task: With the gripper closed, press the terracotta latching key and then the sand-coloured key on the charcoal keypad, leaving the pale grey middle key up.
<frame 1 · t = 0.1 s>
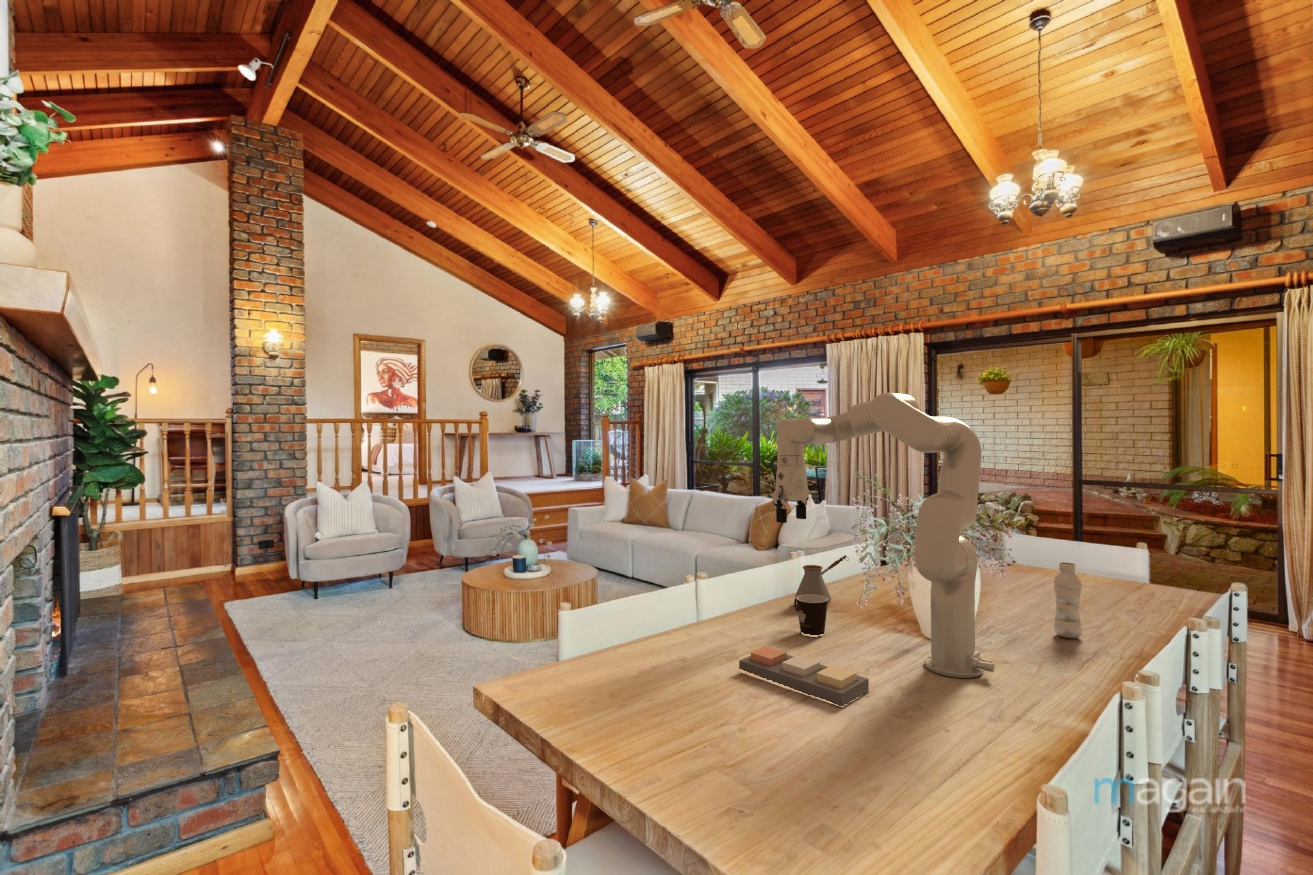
hand: (791, 520, 181), 31 cm above the table, tool pointing down, fingers open, 9 cm apart
key grey: (801, 666, 141), point 4 cm above the table, slide at 0.0 cm
coffee mug: (811, 633, 176), on the table
key terracotta: (768, 656, 148), point 4 cm above the table, slide at 0.0 cm
plastic bottle: (1067, 638, 169), on the table
keypad: (801, 682, 141), on the table
coffee pot: (824, 604, 205), on the table
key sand: (836, 677, 135), point 4 cm above the table, slide at 0.0 cm
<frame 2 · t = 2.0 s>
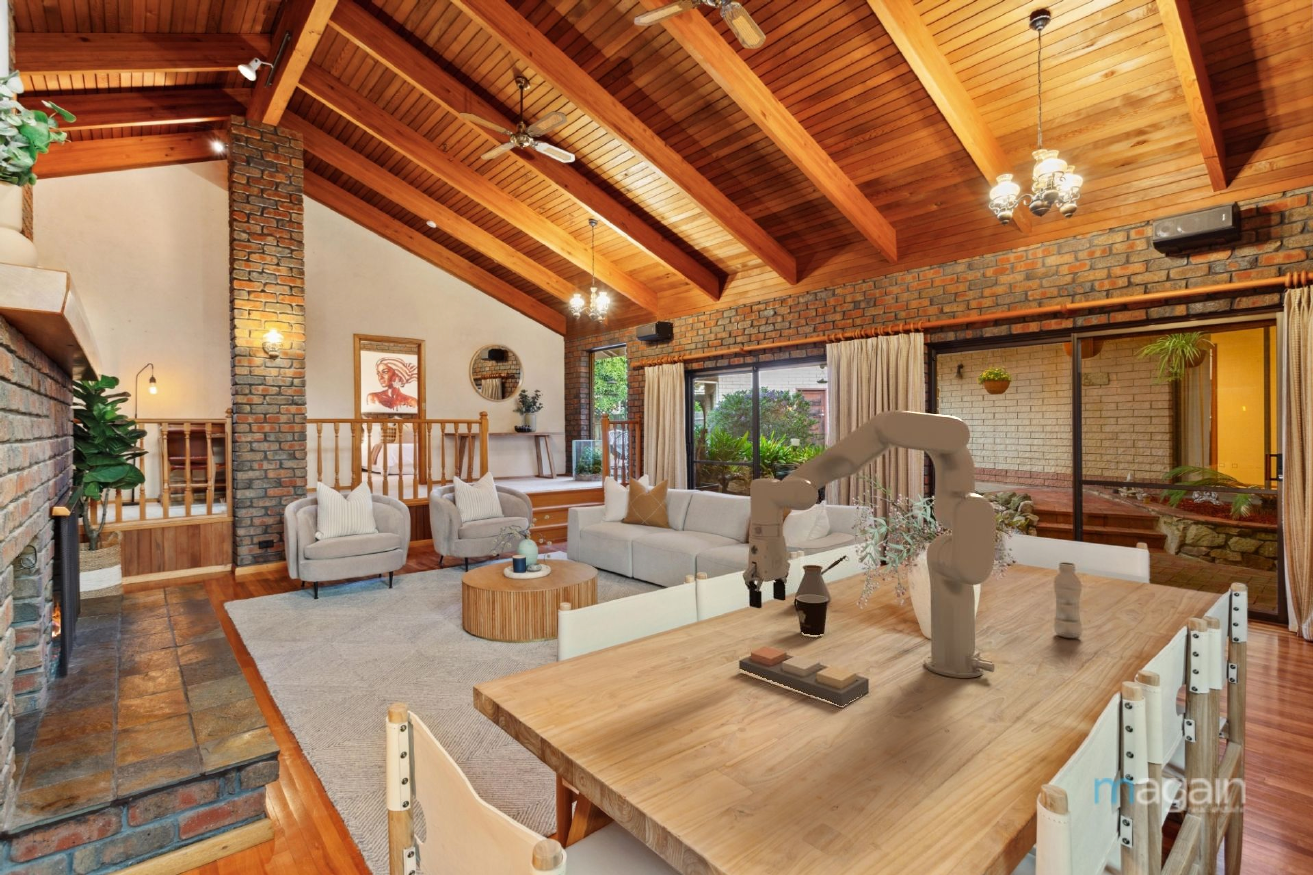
hand: (767, 603, 148), 16 cm above the table, tool pointing down, fingers open, 8 cm apart
nothing on the table moved.
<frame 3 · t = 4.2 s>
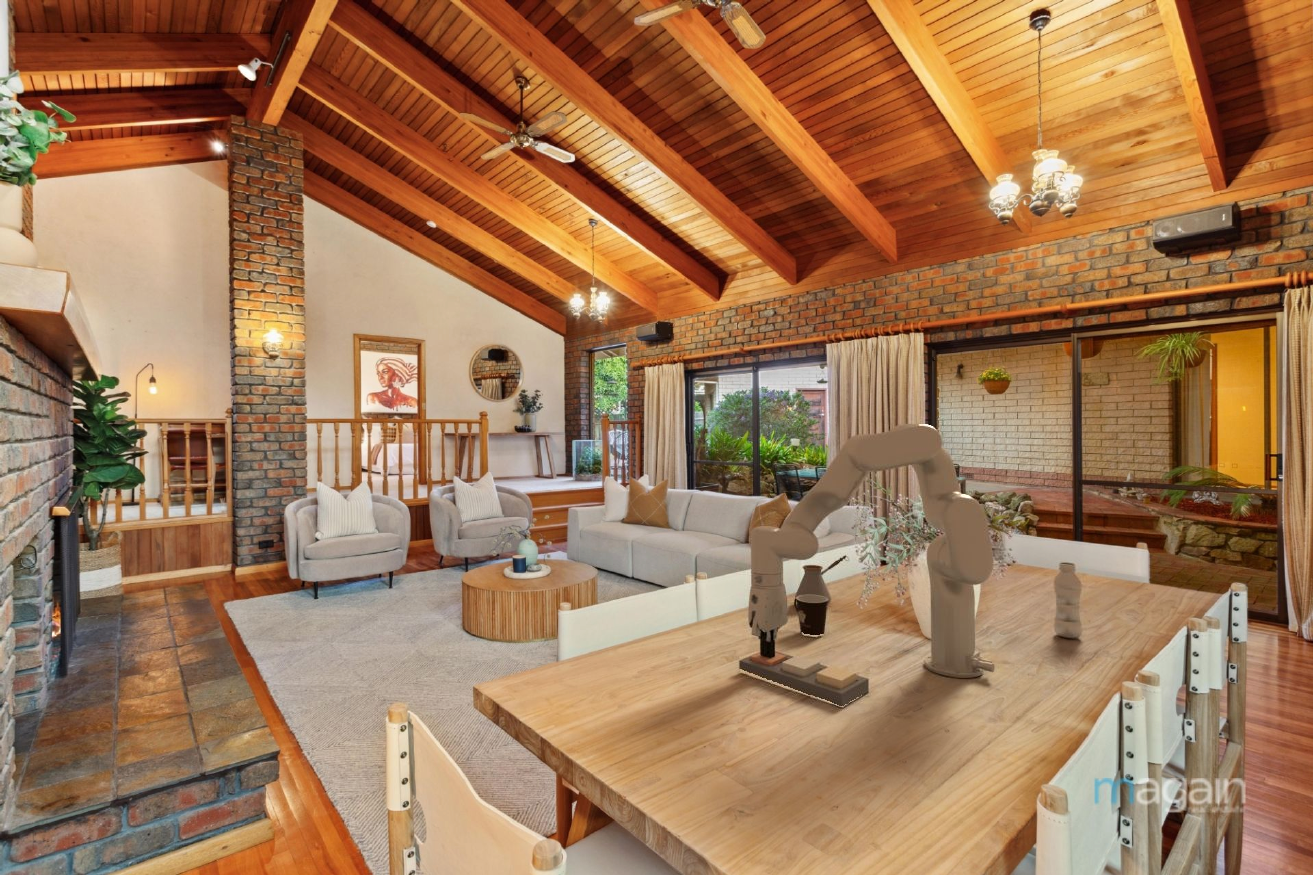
hand: (767, 656, 148), 4 cm above the table, tool pointing down, fingers closed
key terracotta: (768, 660, 148), point 3 cm above the table, slide at 0.9 cm, touching gripper
everything else where it was.
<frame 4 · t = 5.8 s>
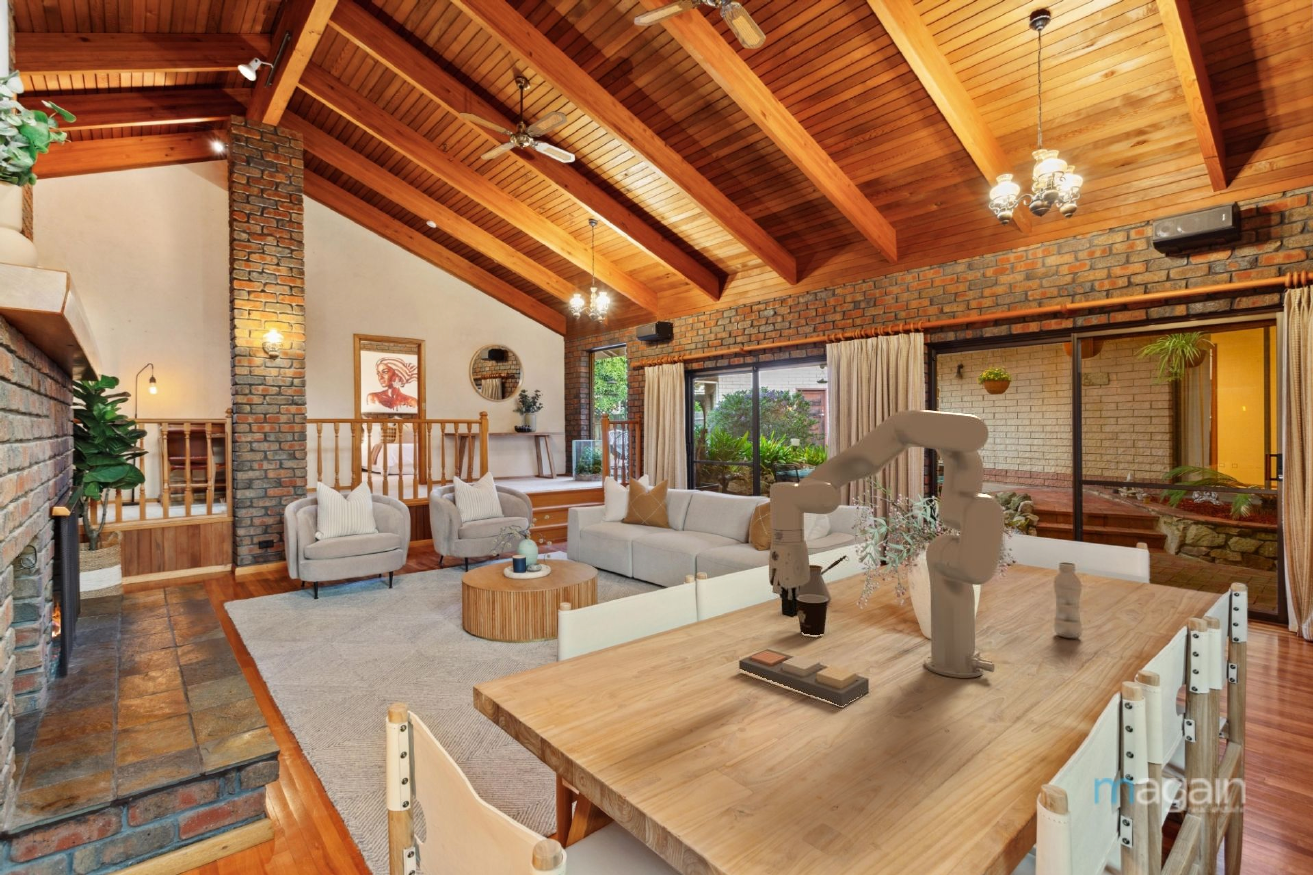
hand: (789, 615, 144), 15 cm above the table, tool pointing down, fingers closed
key terracotta: (768, 661, 148), point 3 cm above the table, slide at 1.0 cm
everything else where it was.
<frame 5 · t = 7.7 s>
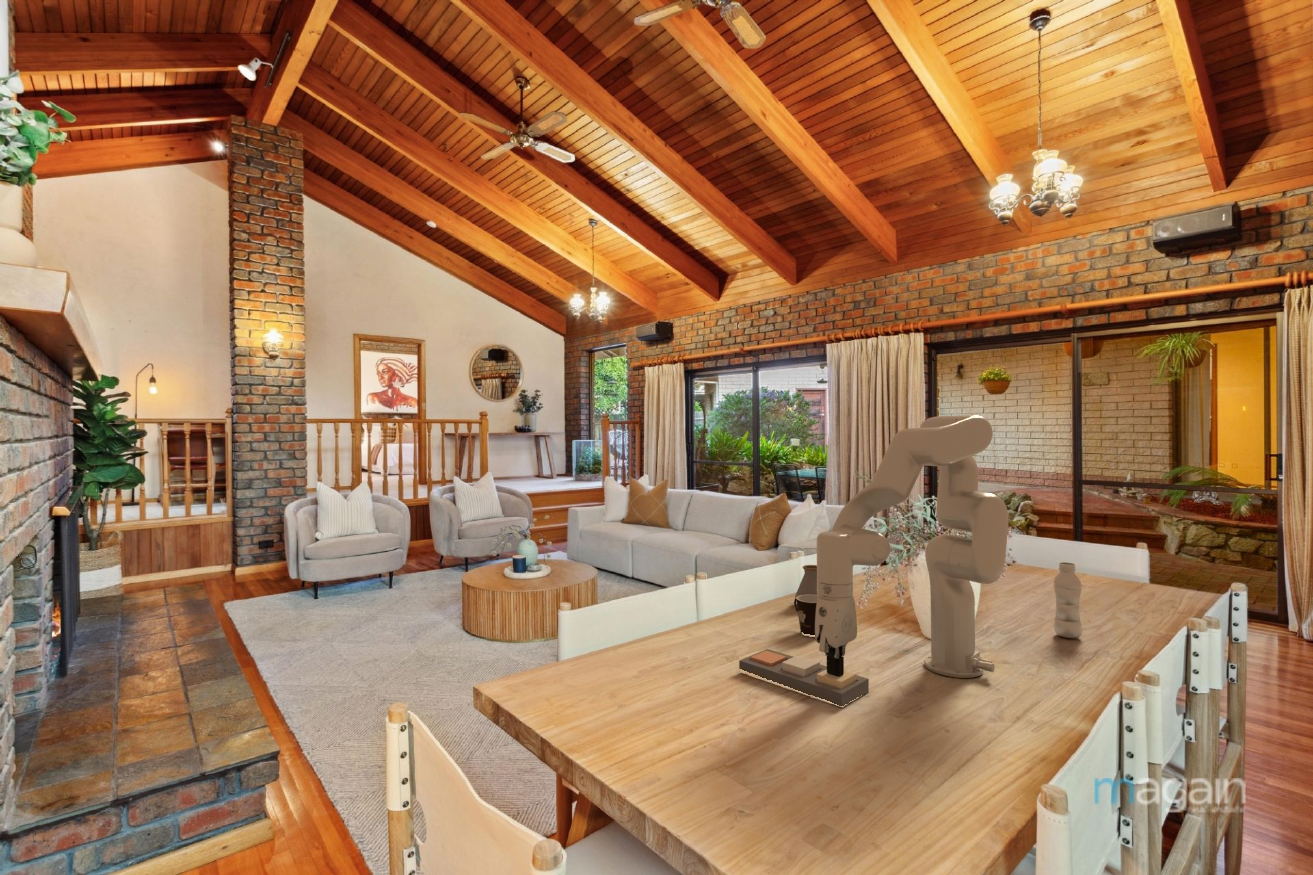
hand: (835, 674, 135), 4 cm above the table, tool pointing down, fingers closed
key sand: (836, 678, 135), point 3 cm above the table, slide at 0.3 cm, touching gripper
everything else where it was.
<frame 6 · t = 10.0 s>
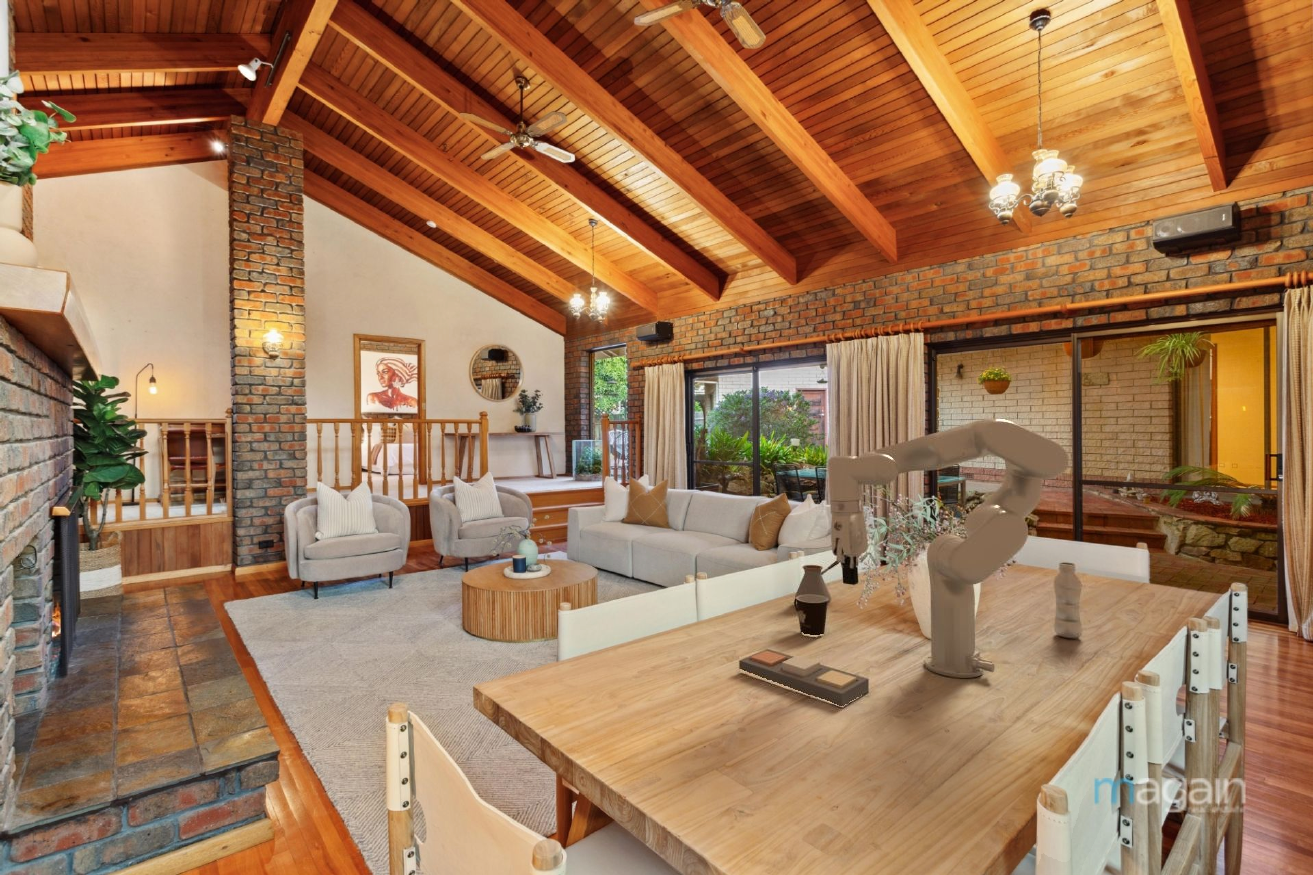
hand: (850, 583, 149), 20 cm above the table, tool pointing down, fingers closed
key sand: (836, 682, 135), point 3 cm above the table, slide at 1.1 cm
everything else where it was.
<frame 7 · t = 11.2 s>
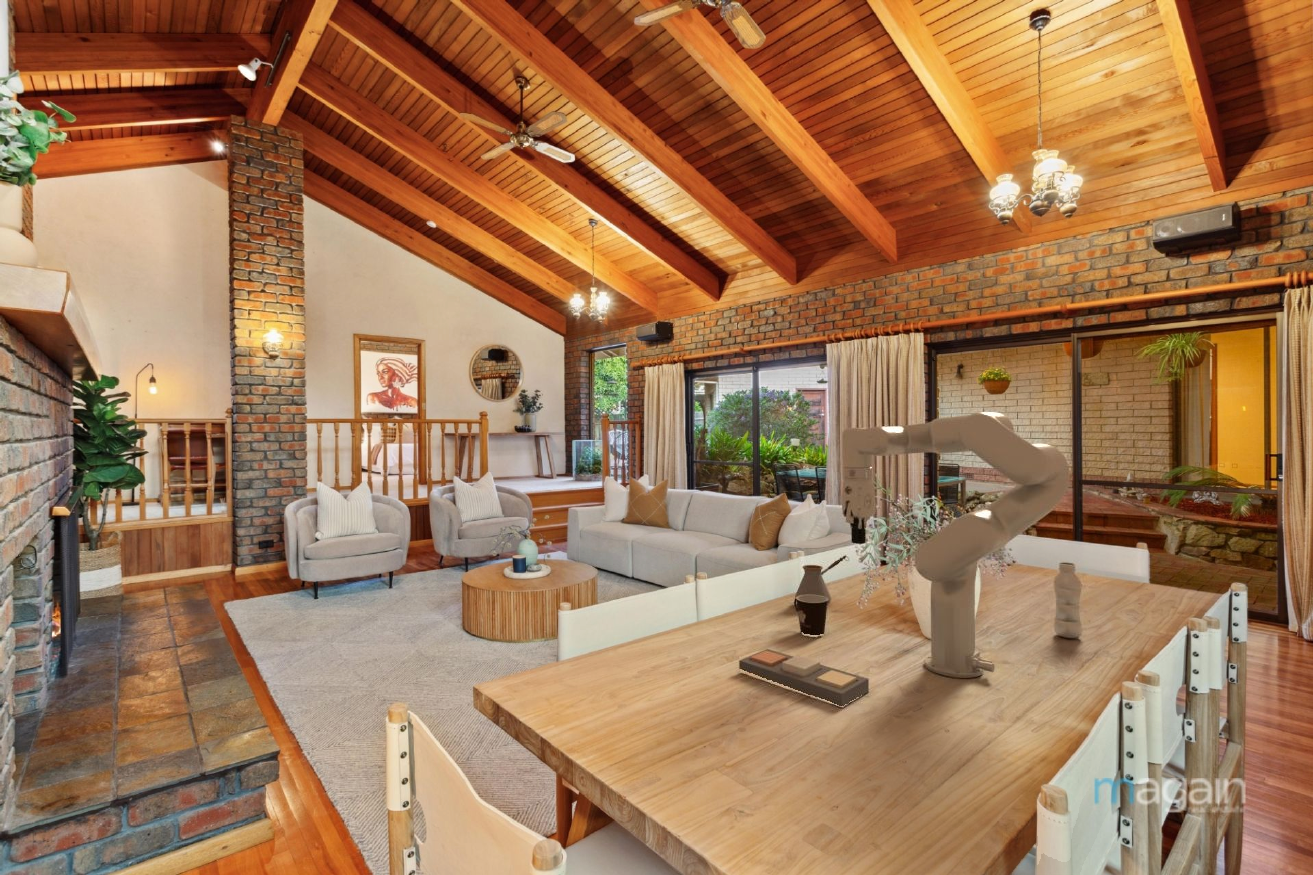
hand: (858, 543, 165), 27 cm above the table, tool pointing down, fingers closed
nothing on the table moved.
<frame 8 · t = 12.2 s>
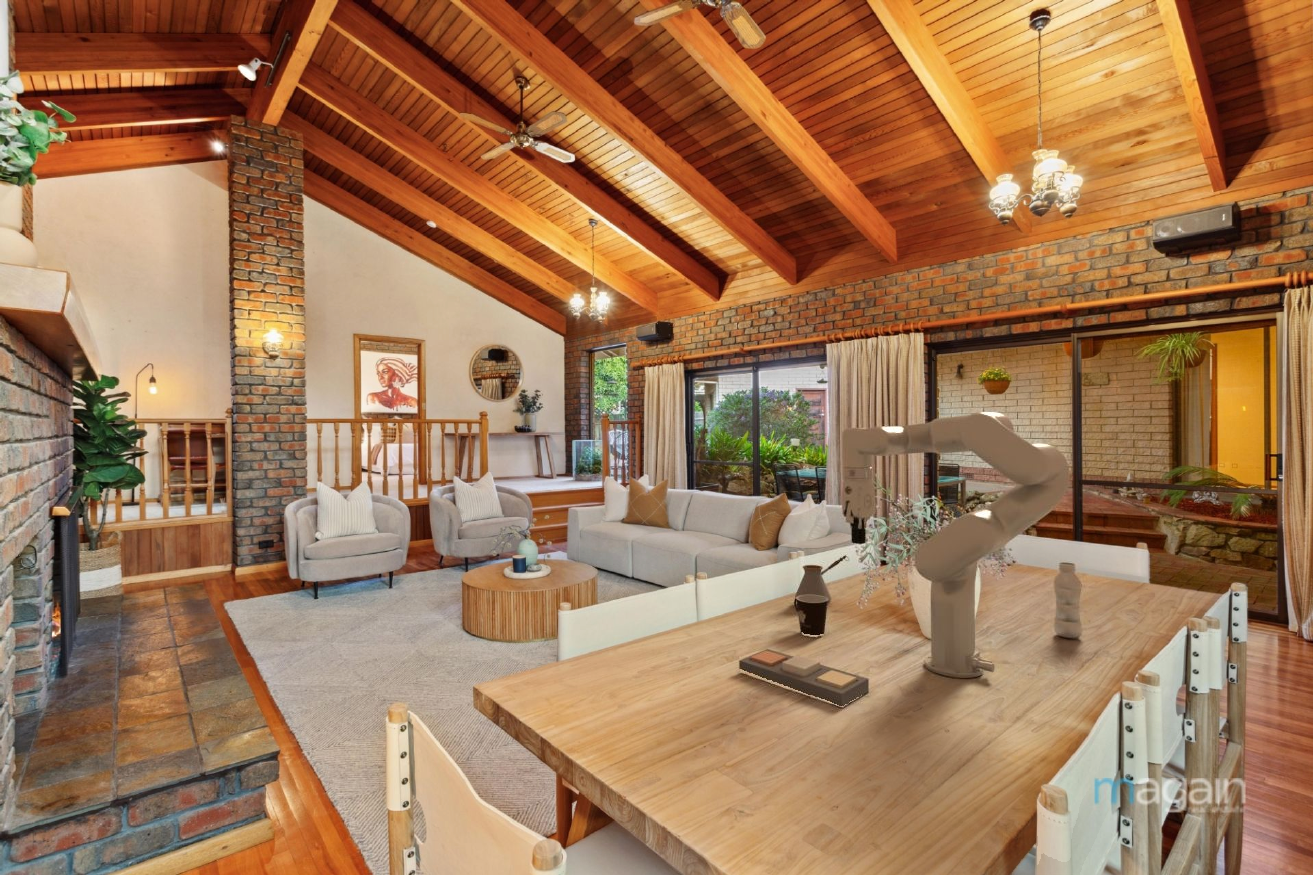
hand: (858, 543, 165), 27 cm above the table, tool pointing down, fingers closed
nothing on the table moved.
at the end: key terracotta slide at 1.0 cm; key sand slide at 1.1 cm; key grey slide at 0.0 cm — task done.
